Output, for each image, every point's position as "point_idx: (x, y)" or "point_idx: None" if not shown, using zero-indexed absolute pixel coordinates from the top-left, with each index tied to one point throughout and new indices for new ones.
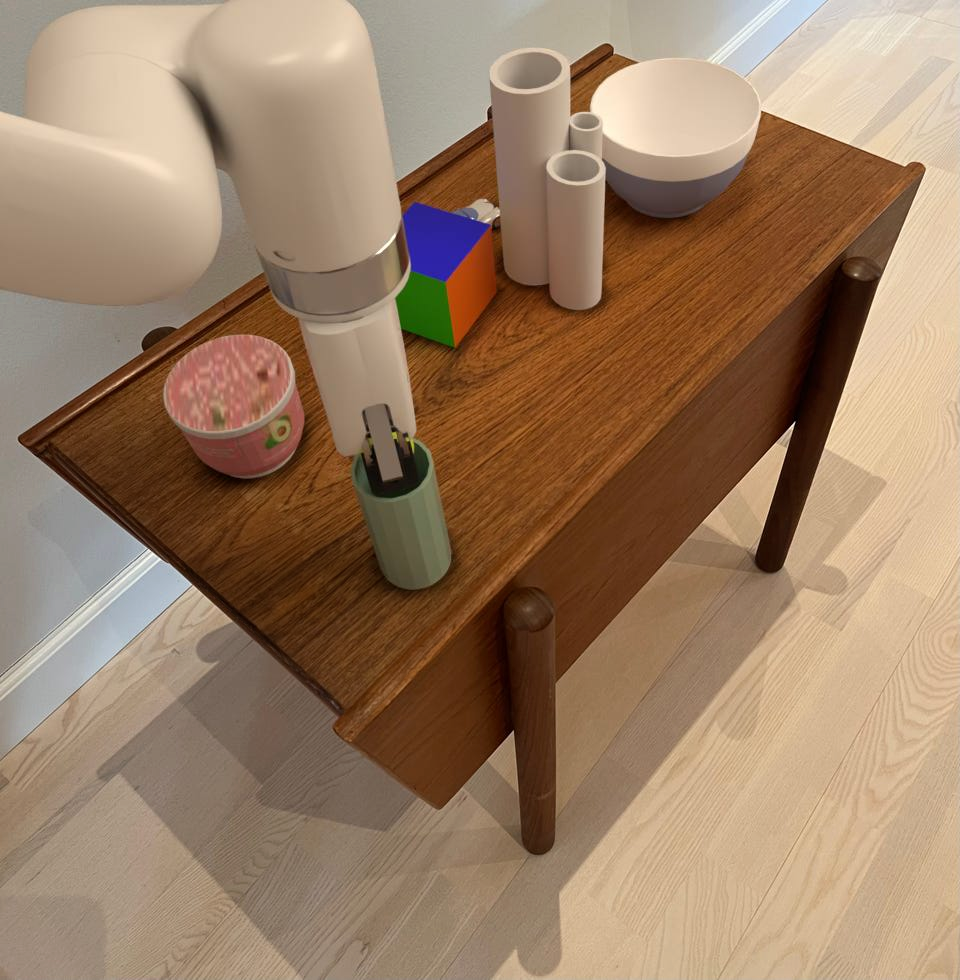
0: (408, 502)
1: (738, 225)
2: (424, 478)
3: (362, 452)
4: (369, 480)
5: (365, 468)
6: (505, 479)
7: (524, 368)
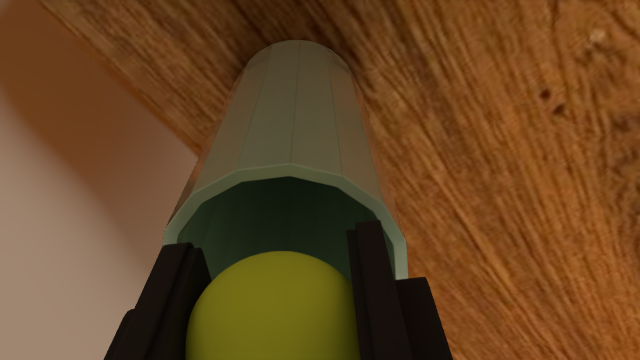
0: None
1: None
2: (346, 238)
3: (233, 315)
4: (145, 292)
5: (118, 349)
6: (420, 247)
7: (623, 294)
